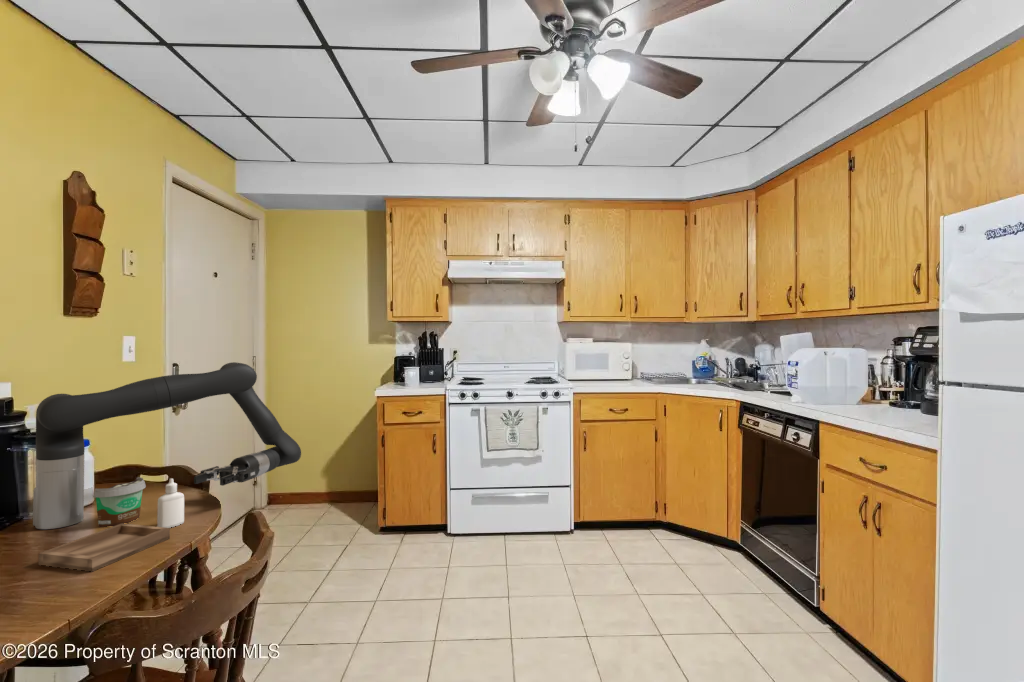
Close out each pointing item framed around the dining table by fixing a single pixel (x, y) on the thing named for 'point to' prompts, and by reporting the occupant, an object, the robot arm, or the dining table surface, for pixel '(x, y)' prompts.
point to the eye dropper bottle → (170, 507)
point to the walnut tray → (104, 547)
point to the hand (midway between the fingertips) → (208, 481)
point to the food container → (119, 503)
